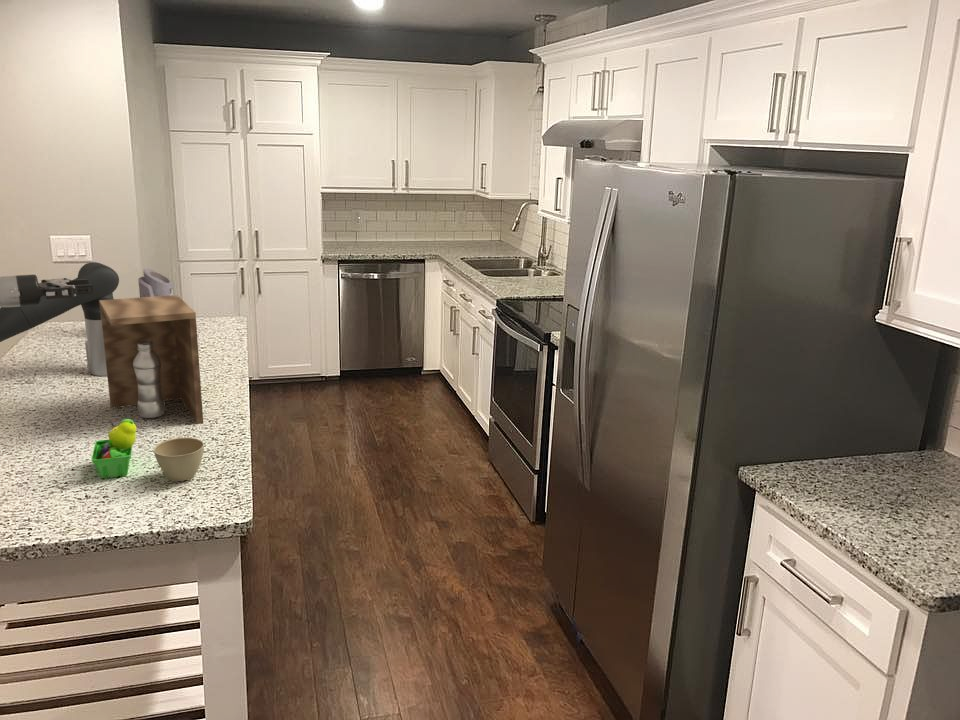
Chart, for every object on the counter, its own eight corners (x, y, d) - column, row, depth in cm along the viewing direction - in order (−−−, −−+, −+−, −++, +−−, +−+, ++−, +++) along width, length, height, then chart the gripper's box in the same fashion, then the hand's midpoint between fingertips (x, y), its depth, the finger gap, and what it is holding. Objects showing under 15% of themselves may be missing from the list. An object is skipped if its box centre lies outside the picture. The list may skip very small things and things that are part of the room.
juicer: (195, 331, 282) (191, 266, 275) (184, 342, 267) (178, 273, 260) (111, 330, 279) (104, 264, 272) (94, 342, 264) (87, 272, 257)
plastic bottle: (156, 422, 194) (149, 346, 188) (132, 419, 195) (125, 344, 189) (171, 413, 200) (164, 340, 194) (148, 411, 201) (141, 338, 195)
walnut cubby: (122, 435, 185) (110, 319, 176) (110, 406, 203) (99, 300, 195) (203, 423, 194) (195, 312, 186) (185, 396, 213) (177, 294, 205)
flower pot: (164, 467, 168) (162, 437, 166) (211, 467, 169) (209, 437, 167) (149, 487, 159) (146, 455, 157) (199, 487, 159) (196, 455, 157)
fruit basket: (97, 461, 170) (92, 414, 167) (140, 456, 173) (136, 410, 170) (93, 482, 160) (87, 432, 157) (139, 477, 163) (134, 428, 160)
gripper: (17, 301, 191) (88, 295, 199) (20, 312, 179) (96, 305, 188) (12, 271, 189) (85, 267, 197) (15, 280, 177) (92, 275, 186)
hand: (90, 286), depth 192 cm, fingers open, 8 cm apart
